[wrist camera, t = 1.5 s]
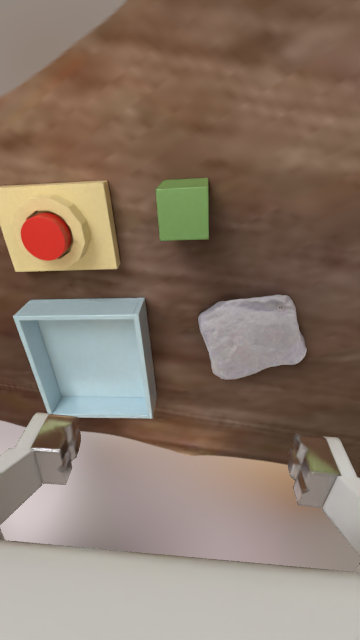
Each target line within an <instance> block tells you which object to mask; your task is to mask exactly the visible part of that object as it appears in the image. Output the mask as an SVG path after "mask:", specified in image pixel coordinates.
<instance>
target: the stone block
mask: <svg viewBox="0 0 360 640" xmlns="http://www.w3.org/2000/svg"><path fill="white" fill-rule="evenodd" d="M198 321H199V326H200V331H201V334H202V336H203V339H204V341H205V343H206V346H207V349H208V351H209V356H210V360H211V367H212V371H213V373H214V374H215V375H217V376H219V377H220V378H221V379H225V380H227V379H238V378H242V377H245V376H249V375H251V374H254V373H257V372H259V371H261V370H263V369H266V368H268V367H272V366H279V365H281V364H282V365H294V364H297V363H299V362H300V361H301V360H302V359H303V358H304V356H305V354H306V351H307V349H306V346H305V342H304V338H303V336H302V334H301V333H300V331H299V326H298V322H297V317H296V309H295V305H294V303H293V301H292V300H291V299H290V297H289V296H286V295H273V296H265V297H259V298H257V297H255V298H248V299H236V300H229V301H220V302H217V303H216V304H214V305H213V306H212V307H210V308H209V309H207V310H206V311H204V312H202V313H201V314H200V315H199V318H198Z"/></svg>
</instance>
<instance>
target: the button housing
mask: <svg viewBox="0 0 360 640" xmlns="http://www.w3.org/2000/svg"><path fill="white" fill-rule="evenodd" d="M40 213H51V214H54V215H56V216H58V217H59V218H61V219H62V220H63V221H64V222H65V223H66V225H67V226H68V228H69V230H70V233H71V244H70V247H69V248H68V250H67V251H66V252H64V253H63V254H62V255H61V256H60V257H59V258H57V259H55V260H50V261H46V260H41V259H38V258H36V257H35V256H33V255H32V254H31V253H29V252H28V250H27V249H26V248H25V246H24V244H23V242H22V239H21V228H22V225H23V224H24V222H25V221H26V220H27V219H29V218H31V217H33V216H35V215H37V214H40ZM0 226H1V229H2V232H3V235H4V238H5V241H6V244H7V247H8V250H9V253H10V256H11V260H12V263H13V266H14V269H15V272H26V271H63V270H99V269H117V268H118V267H119V265H120V264H121V263H120V257H119V250H118V244H117V237H116V231H115V225H114V218H113V212H112V205H111V199H110V192H109V186H108V181H107V180H106V181H87V182H68V183H49V184H30V185H12V186H0Z"/></svg>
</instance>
